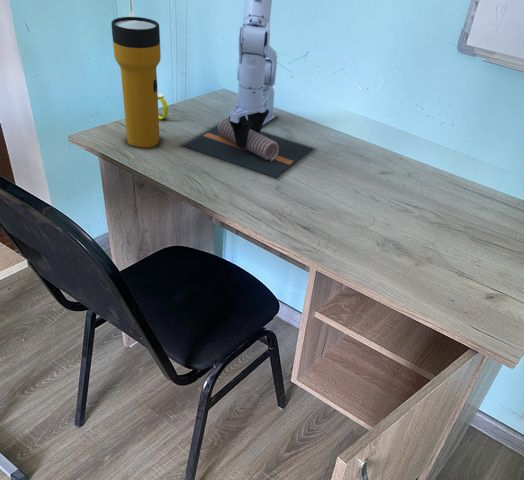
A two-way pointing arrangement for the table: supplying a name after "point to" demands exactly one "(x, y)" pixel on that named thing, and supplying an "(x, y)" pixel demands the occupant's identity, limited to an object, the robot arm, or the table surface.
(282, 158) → the mat
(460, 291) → the table surface
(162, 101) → the watch
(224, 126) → the coil
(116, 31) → the flashlight
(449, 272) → the table surface
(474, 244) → the table surface
